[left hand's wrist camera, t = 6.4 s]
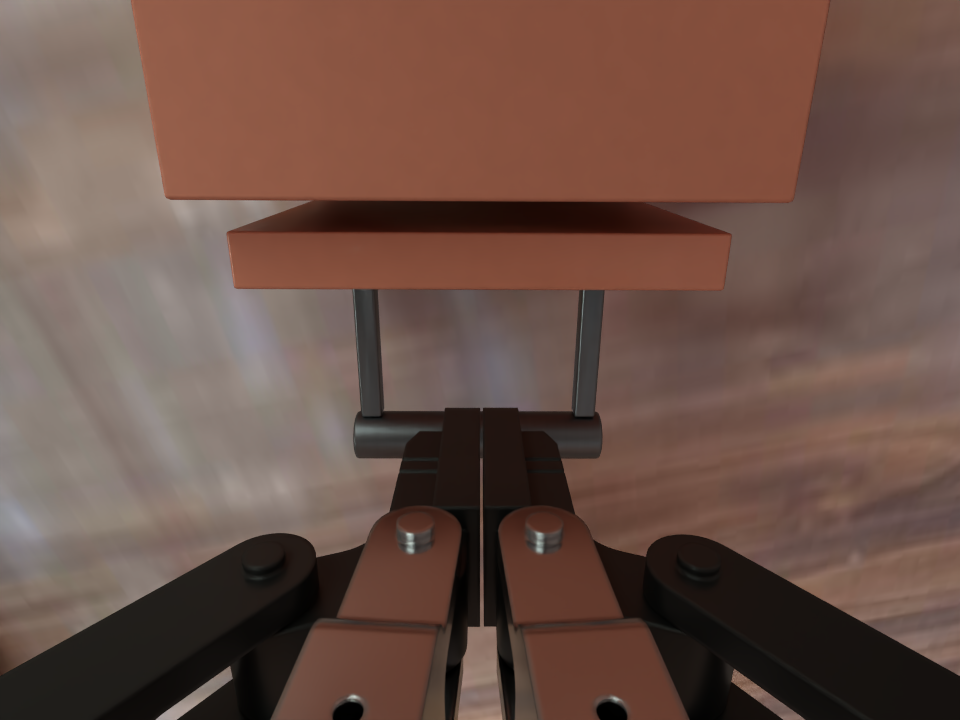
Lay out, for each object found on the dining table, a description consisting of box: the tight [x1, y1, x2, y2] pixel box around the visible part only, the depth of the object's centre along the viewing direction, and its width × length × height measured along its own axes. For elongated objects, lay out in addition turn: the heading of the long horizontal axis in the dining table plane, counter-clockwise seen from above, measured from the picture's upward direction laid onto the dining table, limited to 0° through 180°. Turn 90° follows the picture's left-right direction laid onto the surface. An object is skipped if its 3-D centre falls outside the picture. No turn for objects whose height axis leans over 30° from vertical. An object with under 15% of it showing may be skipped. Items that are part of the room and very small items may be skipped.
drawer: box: [227, 200, 732, 459], centre depth 15 cm, size 24×10×9 cm, turn 0°
